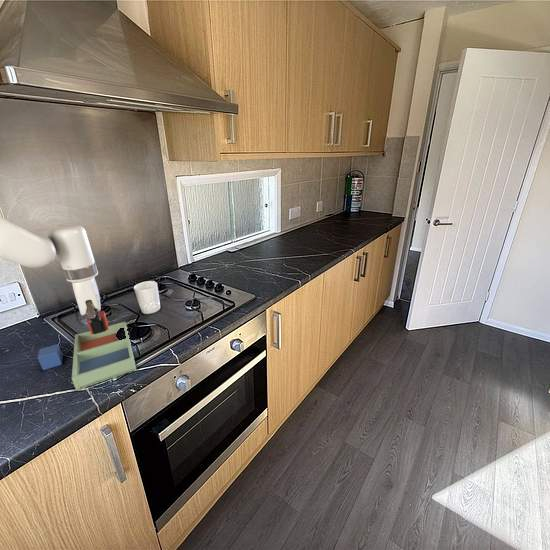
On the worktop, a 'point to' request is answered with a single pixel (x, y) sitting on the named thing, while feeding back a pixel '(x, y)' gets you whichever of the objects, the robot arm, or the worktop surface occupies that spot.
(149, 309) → the white cup
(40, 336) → the worktop surface
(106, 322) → the red block
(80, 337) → the tray
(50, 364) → the blue block
